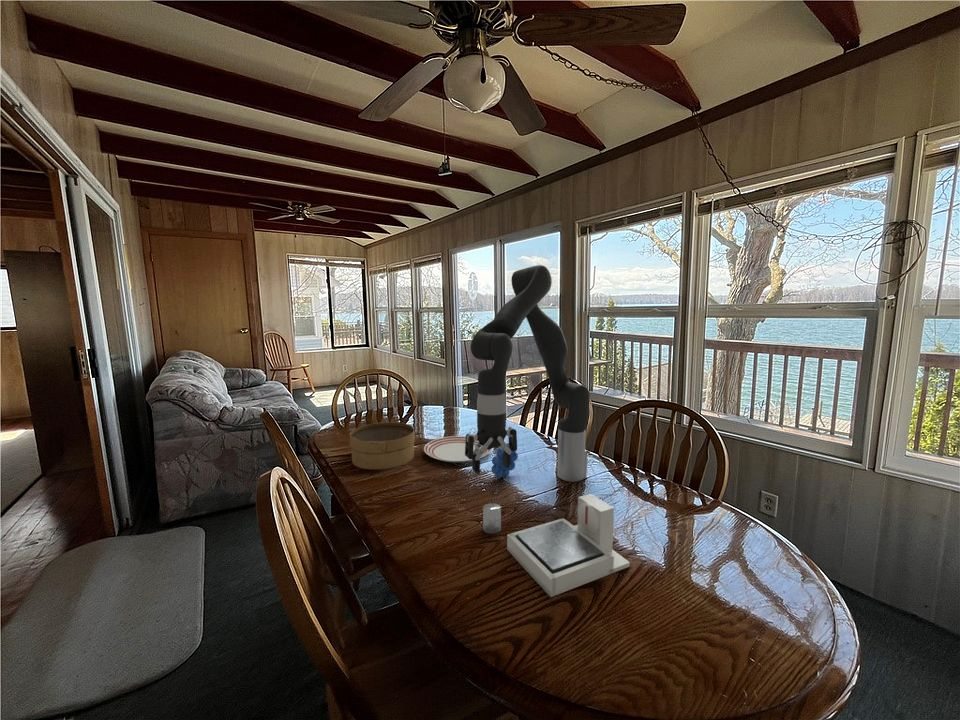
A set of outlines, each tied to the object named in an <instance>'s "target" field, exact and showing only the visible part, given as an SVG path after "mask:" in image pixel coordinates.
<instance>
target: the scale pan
mask: <svg viewBox="0 0 960 720" xmlns="http://www.w3.org/2000/svg"><path fill="white" fill-rule="evenodd" d="M517 539H518V540H519V541H520V542H521V543H522V544H523V545H524V546H525V547H526V548H527V549H528V550H529V551H530V552H531V553H532V554H533V555H534V556H535V557H536V558H537V559H538V560H539V561H540V562H541V563H542V564H543V565H544V566H545V567H546V568H547V569H548V570H549V571H550V572H551V573H552V574H554V573H557V572H560V571H562V570H565V569H568V568H571V567H573V566H576V565H579V564H582V563H585V562H587V561H590V560H593V559H596V558H598V557H601V556H603V552H602V551H601V550H600V549H598V548H597V547H596V546H594V545H593V544H592V543H590V542H589V541H588V540H587V539H585V538H584V537H583V536H581V535H580V534H579V533H577V532H576V531H575V530H574V529H572V528H571V527H570V526H568V525H567V524H566V523H564V522H563V521H560V522H557V523H553V524H550V525H547V526H543V527H540V528H536V529H533V530H529V531H526V532H523V533H519V534H517Z"/></svg>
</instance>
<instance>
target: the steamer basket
mask: <svg viewBox="0 0 960 720" xmlns="http://www.w3.org/2000/svg"><path fill="white" fill-rule="evenodd" d="M415 434H416V433H415V428H414V426H412V425H410V424H408V423H403V422H396V421H395V422H391V421H389V422H387V421H386V422H384V421H383V422H376V423H371V424H366V425H362V426H359V427H357V428H354V429H353V430H350V432H349V445H350V448H351V462H352V464H353V465H354V466H355V467H357V468H360V469H364V470H387V469H393V468H398V467H400V466H401V467H402V466H404V465H405V464H408V463H409V462H411V461H412V460H413V459H414V457H415V441H416V439H415V437H416V436H415Z"/></svg>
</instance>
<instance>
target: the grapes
mask: <svg viewBox="0 0 960 720" xmlns="http://www.w3.org/2000/svg"><path fill="white" fill-rule="evenodd" d="M506 444H507V445H508V446H509V442H507V443H506ZM503 452H504V451H503V450H502V448H501V447H500V446H499V448H497V450H496V455H494V456H492V458H491V463H492V466H491V468H490V469H491V474H493V475H494V474H495V475H494V476H495V479H502V477H503V478H506V477H508V476H509V475H510V471H513V470H514V469H515V467H516V461H517V460H518V457H519V454H518V453H517V450H516V451H513V452H511V456H510V465H509V467H508V468H505V467H504V466H503Z"/></svg>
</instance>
